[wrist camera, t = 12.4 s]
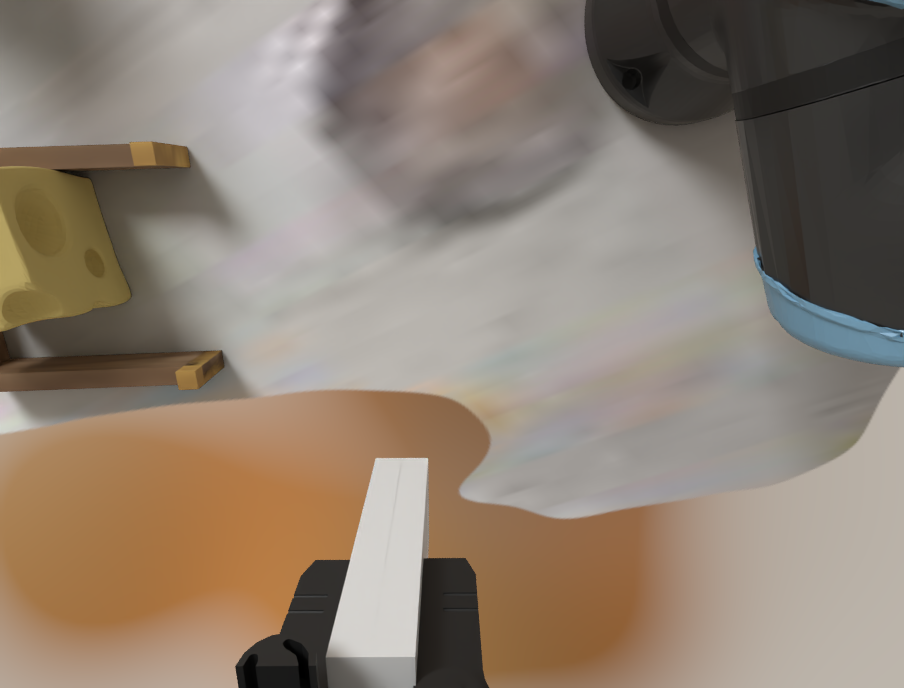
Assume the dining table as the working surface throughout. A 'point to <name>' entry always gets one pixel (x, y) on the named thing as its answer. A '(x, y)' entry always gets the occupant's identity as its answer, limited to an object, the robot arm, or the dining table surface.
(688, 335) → the dining table surface
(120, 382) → the bay
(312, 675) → the robot arm
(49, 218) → the cheese
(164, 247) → the dining table surface
